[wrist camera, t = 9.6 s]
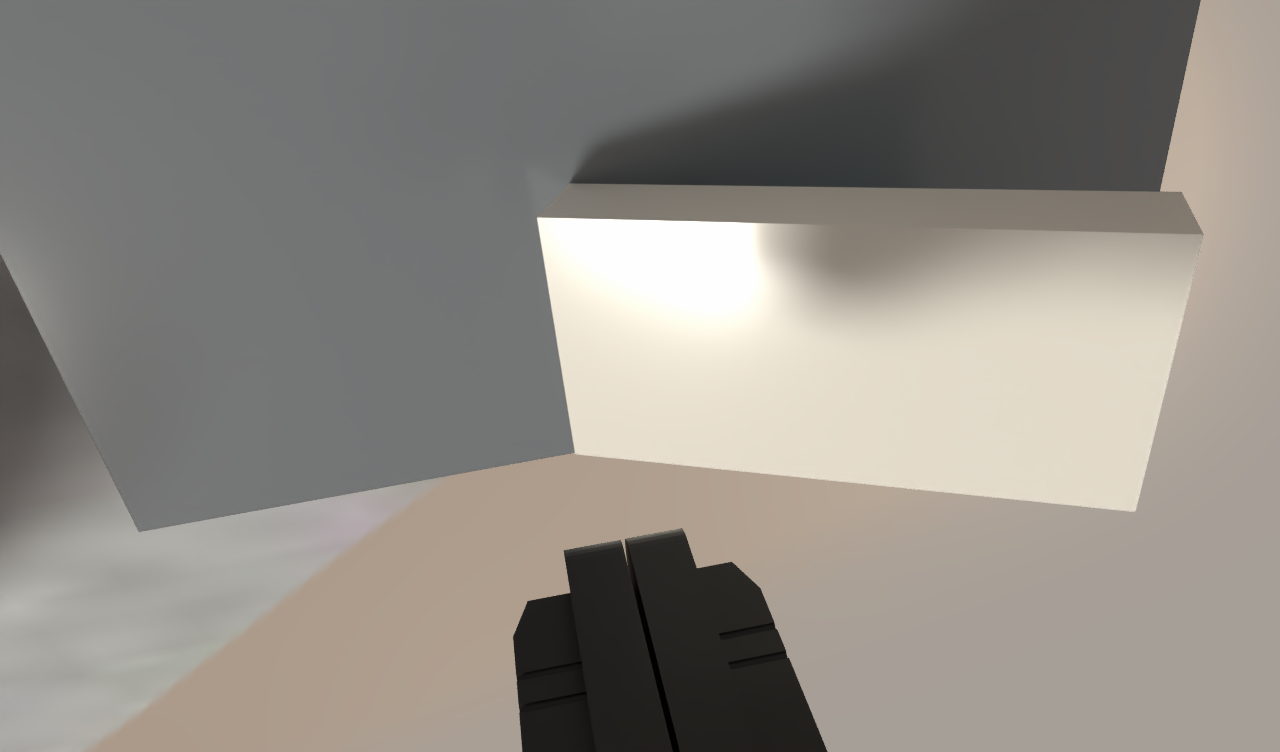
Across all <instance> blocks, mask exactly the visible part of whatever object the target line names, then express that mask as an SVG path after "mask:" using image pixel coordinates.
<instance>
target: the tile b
mask: <svg viewBox="0 0 1280 752" xmlns="http://www.w3.org/2000/svg"><path fill="white" fill-rule="evenodd" d="M537 221H538V227H539V233H540V240H541V246H542V252H543V258H544V264H545V271H546V277H547V283H548V289H549V295H550V302H551V308H552V314H553V320H554V326H555V333H556V339H557V345H558V351H559V357H560V364H561V370H562V376H563V382H564V388H565V395H566V401H567V407H568V413H569V419H570V426H571V432H572V438H573V444H574V450H575V454H579V455H589V456H599V457H608V458H618V459H628V460H638V461H647V462H658V463H667V464H677V465H686V466H696V467H705V468H716V469H725V470H734V471H744V472H754V473H764V474H773V475H783V476H793V477H803V478H813V479H822V480H831V481H841V482H851V483H861V484H870V485H880V486H890V487H899V488H909V489H919V490H929V491H938V492H948V493H957V494H968V495H977V496H987V497H997V498H1006V499H1016V500H1025V501H1035V502H1045V503H1054V504H1065V505H1074V506H1084V507H1093V508H1103V509H1113V510H1122V511H1132V512H1135V511H1136V507H1137V503H1138V499H1139V495H1140V491H1141V487H1142V483H1143V479H1144V475H1145V470H1146V467H1147V463H1148V459H1149V454H1150V450H1151V446H1152V442H1153V438H1154V434H1155V430H1156V426H1157V422H1158V417H1159V414H1160V410H1161V406H1162V402H1163V397H1164V394H1165V390H1166V385H1167V381H1168V377H1169V373H1170V369H1171V365H1172V361H1173V357H1174V353H1175V349H1176V345H1177V340H1178V337H1179V333H1180V328H1181V325H1182V320H1183V316H1184V312H1185V308H1186V304H1187V300H1188V296H1189V292H1190V288H1191V284H1192V280H1193V276H1194V271H1195V268H1196V264H1197V260H1198V256H1199V251H1200V247H1201V243H1202V239H1203V235H1204V234H1203V232H1202V230H1201V229H1200V227H1199V225H1198V223H1197V221H1196V219H1195V217H1194V215H1193V213H1192V211H1191V209H1190V207H1189V205H1188V204H1187V201H1186V200H1185V198H1184V196H1183V194H1182V192H1146V191H1074V190H1003V189H932V188H861V187H789V186H718V185H647V184H576V183H569V184H568V185H567V186H566V187H565V188H564V189H563V190H562V191H561V193H560V194H559V195H558V196H557V197H556V198H555V199H554V200H553V201H552V202H551V203H550V204H549V205H548V206H547V207H546V208H545V210H544V211H543V212H542V213H541V214H540V215H539V216H538V217H537Z"/></svg>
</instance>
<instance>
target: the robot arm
mask: <svg viewBox="0 0 1280 752" xmlns="http://www.w3.org/2000/svg"><path fill="white" fill-rule="evenodd" d="M625 547H626V556H627V561H626V557H625V554H624V549H623V545H622V542H621V540H618V541H612V542H607V543H601V544H596V545H591V546H585V547H580V548H574V549H569V550H564V555H565V562H566V568H567V574H568V580H569V586H570V593H568V594H563V595H557V596H553V597H547V598H542V599H536V600H532V601H528V602H527V605H526V607H525V610H524V612H523V615H522V617H521V619H520V621H519V624H518V626H517V629H516V631H515V634H514V636H513V640H514V653H515V665H516V675H517V689H518V702H519V709H520V726H521V739H522V751H523V752H827V750H826V747H825V745H824V742H823V740H822V737H821V735H820V733H819V730H818V728H817V725H816V723H815V720H814V718H813V716H812V713H811V711H810V708H809V706H808V703H807V701H806V699H805V696H804V693H803V691H802V689H801V686H800V684H799V681H798V679H797V677H796V674H795V672H794V669H793V667H792V664H791V662H790V660H789V658H787V655H786V650H785V647H784V645H783V642H782V640H781V638H780V635H779V633H778V631H777V629H776V628H775V624H774V620H773V618H772V615H771V613H770V611H769V608H768V606H767V603H766V601H765V598H764V596H763V594H762V591H761V589H760V588H759V587H758V586H757V585H756V584H755V583H754V582H753V581H752V580H751V579H750V578H749V577H748V576H746V575H745V574H744V573H743V572H742V571H741V570H740V569H739V568H738V567H737V566H736V565H735V564H733V563H732V562H729V563H724V564H719V565H713V566H708V567H702V568H696V565H695V562H694V559H693V556H692V553H691V550H690V547H689V544H688V541H687V538H686V535H685V533H684V531H683V529H682V528H680V529H675V530H670V531H664V532H659V533H654V534H648V535H643V536H637V537H632V538H627V539H625ZM627 564H628V565H627Z"/></svg>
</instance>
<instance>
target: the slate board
mask: <svg viewBox="0 0 1280 752" xmlns="http://www.w3.org/2000/svg"><path fill="white" fill-rule="evenodd" d="M1199 5H1200V0H0V254H1V256H2V258H3V260H4V262H5V264H6V266H7V268H8V270H9V272H10V274H11V276H12V278H13V280H14V282H15V284H16V286H17V288H18V290H19V292H20V294H21V296H22V298H23V300H24V302H25V304H26V306H27V308H28V310H29V312H30V314H31V316H32V318H33V320H34V322H35V324H36V326H37V328H38V330H39V332H40V334H41V336H42V338H43V340H44V342H45V344H46V346H47V348H48V350H49V352H50V354H51V356H52V358H53V360H54V362H55V364H56V366H57V368H58V370H59V372H60V374H61V376H62V379H63V381H64V383H65V385H66V387H67V389H68V391H69V393H70V395H71V397H72V399H73V401H74V403H75V405H76V407H77V409H78V411H79V413H80V415H81V417H82V419H83V421H84V423H85V425H86V427H87V429H88V431H89V433H90V435H91V437H92V439H93V441H94V443H95V445H96V447H97V449H98V451H99V453H100V455H101V457H102V459H103V461H104V463H105V465H106V467H107V469H108V471H109V473H110V475H111V477H112V479H113V481H114V483H115V485H116V487H117V489H118V491H119V493H120V495H121V497H122V499H123V501H124V503H125V505H126V507H127V509H128V511H129V513H130V515H131V517H132V519H133V521H134V523H135V525H136V527H137V529H138V531H139V532H141V531H147V530H152V529H158V528H163V527H169V526H174V525H180V524H185V523H191V522H196V521H202V520H207V519H213V518H218V517H224V516H229V515H235V514H240V513H246V512H251V511H257V510H262V509H268V508H273V507H279V506H284V505H290V504H295V503H301V502H306V501H312V500H317V499H323V498H328V497H334V496H339V495H345V494H350V493H356V492H361V491H367V490H372V489H378V488H383V487H389V486H394V485H400V484H405V483H411V482H416V481H422V480H427V479H433V478H438V477H444V476H449V475H455V474H460V473H466V472H471V471H476V470H482V469H488V468H493V467H499V466H504V465H510V464H515V463H521V462H526V461H532V460H537V459H543V458H548V457H554V456H559V455H565V454H570V453H575V450H574V444H573V438H572V432H571V426H570V419H569V413H568V407H567V401H566V395H565V388H564V382H563V376H562V370H561V364H560V357H559V351H558V345H557V339H556V333H555V326H554V320H553V314H552V308H551V302H550V295H549V289H548V283H547V277H546V271H545V264H544V258H543V252H542V246H541V240H540V233H539V227H538V221H537V217H538V216H539V215H540V214H541V213H542V212H543V211H544V210H545V208H546V207H547V206H548V205H549V204H550V203H551V202H552V201H553V200H554V199H555V198H556V197H557V196H558V195H559V194H560V193H561V191H562V190H563V189H564V188H565V187H566V186H567V185H568V184H569V183H576V184H647V185H718V186H789V187H861V188H932V189H1003V190H1074V191H1146V192H1160V187H1161V183H1162V177H1163V173H1164V169H1165V164H1166V159H1167V154H1168V150H1169V145H1170V141H1171V136H1172V131H1173V127H1174V122H1175V117H1176V113H1177V108H1178V103H1179V99H1180V93H1181V89H1182V84H1183V80H1184V75H1185V70H1186V66H1187V61H1188V56H1189V52H1190V47H1191V42H1192V38H1193V33H1194V28H1195V24H1196V19H1197V14H1198V9H1199Z"/></svg>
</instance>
